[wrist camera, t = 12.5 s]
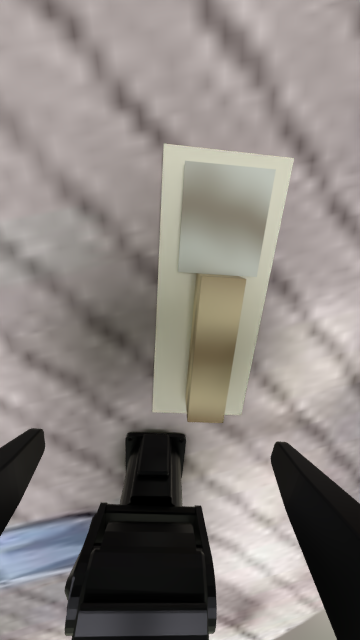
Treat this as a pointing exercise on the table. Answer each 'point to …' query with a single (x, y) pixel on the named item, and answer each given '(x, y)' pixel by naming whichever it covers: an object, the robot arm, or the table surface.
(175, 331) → the board
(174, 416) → the table surface
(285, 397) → the table surface
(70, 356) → the table surface
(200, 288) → the turner
